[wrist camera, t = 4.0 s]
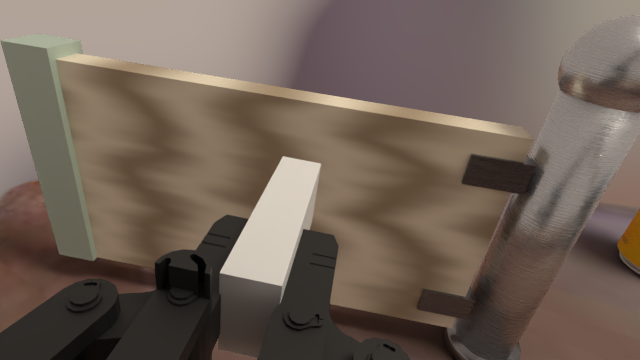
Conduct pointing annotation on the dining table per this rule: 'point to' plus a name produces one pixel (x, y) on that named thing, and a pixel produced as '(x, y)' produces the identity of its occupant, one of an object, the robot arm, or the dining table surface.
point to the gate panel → (264, 172)
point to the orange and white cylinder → (631, 245)
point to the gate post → (556, 188)
